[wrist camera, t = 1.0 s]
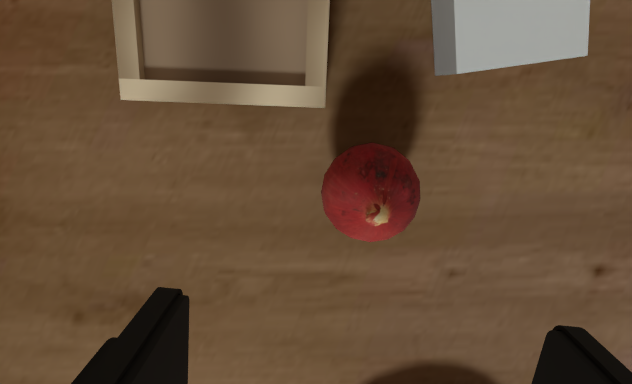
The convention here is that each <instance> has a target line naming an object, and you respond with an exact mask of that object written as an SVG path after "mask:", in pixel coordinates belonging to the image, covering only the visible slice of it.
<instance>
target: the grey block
mask: <svg viewBox="0 0 632 384" xmlns="http://www.w3.org/2000/svg"><path fill="white" fill-rule="evenodd" d="M431 5H432V24H433V43H434V62H435V76H436V75H449V74H460V73H467V72H474V71H481V70H488V69H496V68H503V67H510V66H517V65H524V64H531V63H538V62H545V61H552V60H560V59H567V58H574V57H581V56H587V55H588V33H589V12H590V0H431Z"/></svg>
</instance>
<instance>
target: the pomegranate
mask: <svg viewBox="0 0 632 384" xmlns="http://www.w3.org/2000/svg"><path fill="white" fill-rule="evenodd" d="M321 194H322V200H323V206H324V211H325V214H326V215H327V217H328V218H329V219H330V221H331V222H332V223H333V225H334V226H335V228H336V229H338V230H339V231H341V232H342V233H344V234H346V235H347V236H349V237H350V238H354V239H359V240H363V241H368V242H373V241H380V240H386V239H389V238H391V237H393V236H394V235H396V234H398V233H400V232H402V231H403V230H404V229H405V228H406V227H407V226H408V224H409V223H410V222H411V221H412V220H413V218H414V217H415V214H416V211H417V208H418V205H419V202H420V181H419V179H418V177H417V175H416V173H415V171H414V169H413V167H412V165H411V163H410V161H409V160H408V159H407V158H405V157H404V156H403V155H402V154H401V153H400V152H398V151H397V150H396V149H395V148H393V147H389V146H385V145H380V144H376V143H367V144H362V145H357V146H352V147H350V148H349V149H348V150H346V151H345V152H343V153H342V154H341V155H339V156H338V157H336V158H335V159H334V161H333V162H332V164H331V165H330V167H329V169H328V170H327V172H326V173H325V175H324V181H323V186H322V191H321Z"/></svg>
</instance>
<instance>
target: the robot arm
mask: <svg viewBox="0 0 632 384" xmlns="http://www.w3.org/2000/svg"><path fill="white" fill-rule="evenodd" d="M188 340H189V297H188V296H185V295H183V293H182V290H181V289H173V288H163V287H158V288H157V289H156V290H155V291H154V292H153V294H152V295H151V296H150V297H149V299H148V300H147V301H146V302H145V304H144V305H143V306H142V308H141V309H140V310H139V311H138V313H137V314H136V315H135V316H134V318H133V319H132V320H131V321H130V323H129V324H128V325H127V326H126V328H125V329H124V330H123V331H122V333H121V334H120V335H119V337H118V338H114V337H113V338H110V339H108V340H107V341H106V342H105V343H104V344H103V346H102V347H101V348H100V349H99V351H98V352H97V353H96V354H95V355H94V357H93V358H92V359H91V360H90V361H89V363H88V364H87V365H86V366H85V367H84V369H83V370H82V371H81V372H80V374H79V375H78V376H77V377H76V378H75V380H74V381H73V382H72V383H71V384H188ZM532 384H632V372H631V371H630V370H628V369H627V368H626V367H625V366H624V365H623V364H622V363H621V362H620V361H619V360H618V359H616V358H615V357H614V356H613V355H612V354H611V353H610V352H609V351H608V350H607V349H606V348H604V347H603V346H602V345H601V344H600V343H599V342H598V341H597V340H596V339H595V338H594V337H592V336H591V335H590V334H589V333H588V332H587V331H586V330H585V329H583V328H580V327H571V326H561V325H558V326H555V327H554V328H553V330H551V331H549V332H548V333H547V335H546V338H545V341H544V344H543V348H542V351H541V354H540V358H539V361H538V364H537V368H536V371H535V374H534V378H533V381H532Z"/></svg>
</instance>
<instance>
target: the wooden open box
mask: <svg viewBox="0 0 632 384" xmlns="http://www.w3.org/2000/svg"><path fill="white" fill-rule="evenodd" d="M329 6H330V0H112V9H113V20H114V31H115V42H116V53H117V64H118V74H119V85H120V96H121V100H139V101H164V102H189V103H214V104H239V105H265V106H290V107H315V108H325V96H326V74H327V51H328V29H329Z"/></svg>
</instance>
